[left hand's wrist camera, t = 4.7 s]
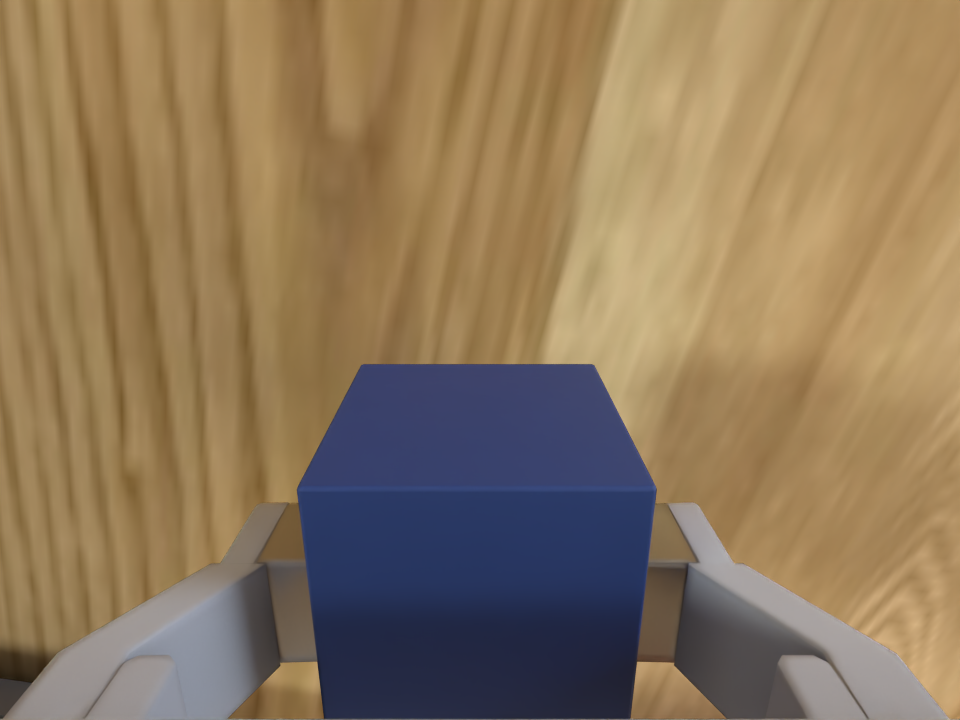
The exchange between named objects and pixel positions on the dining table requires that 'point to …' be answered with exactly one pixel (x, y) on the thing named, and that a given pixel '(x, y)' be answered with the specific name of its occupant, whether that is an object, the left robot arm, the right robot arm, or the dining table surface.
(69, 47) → the dining table surface
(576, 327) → the dining table surface
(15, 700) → the laptop
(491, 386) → the brick
